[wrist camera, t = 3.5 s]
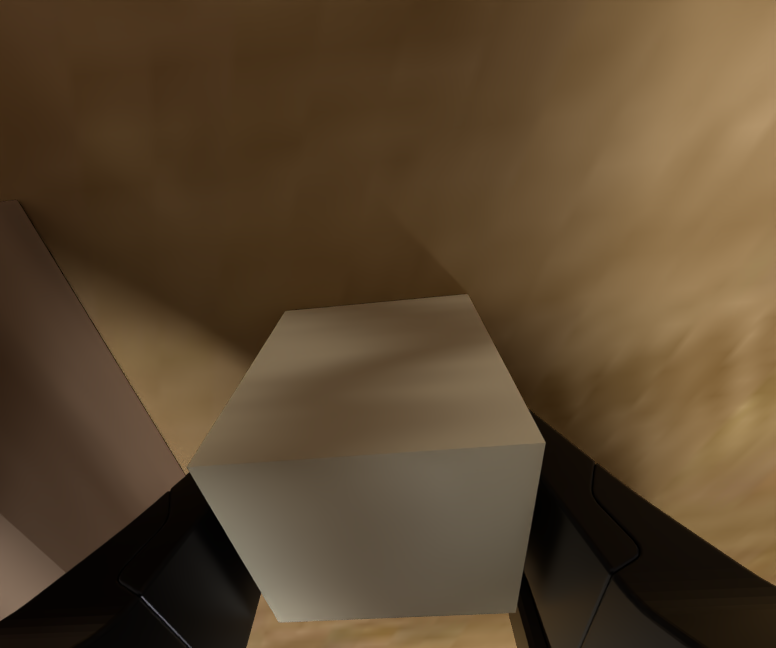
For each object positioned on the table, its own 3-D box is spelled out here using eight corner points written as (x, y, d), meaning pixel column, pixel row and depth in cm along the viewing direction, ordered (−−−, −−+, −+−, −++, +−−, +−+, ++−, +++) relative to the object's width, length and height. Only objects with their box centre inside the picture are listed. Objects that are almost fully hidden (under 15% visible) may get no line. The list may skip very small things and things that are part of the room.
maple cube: (467, 294, 9) (545, 442, 4) (466, 428, 11) (515, 612, 7) (285, 310, 9) (187, 466, 5) (321, 439, 11) (278, 622, 7)
